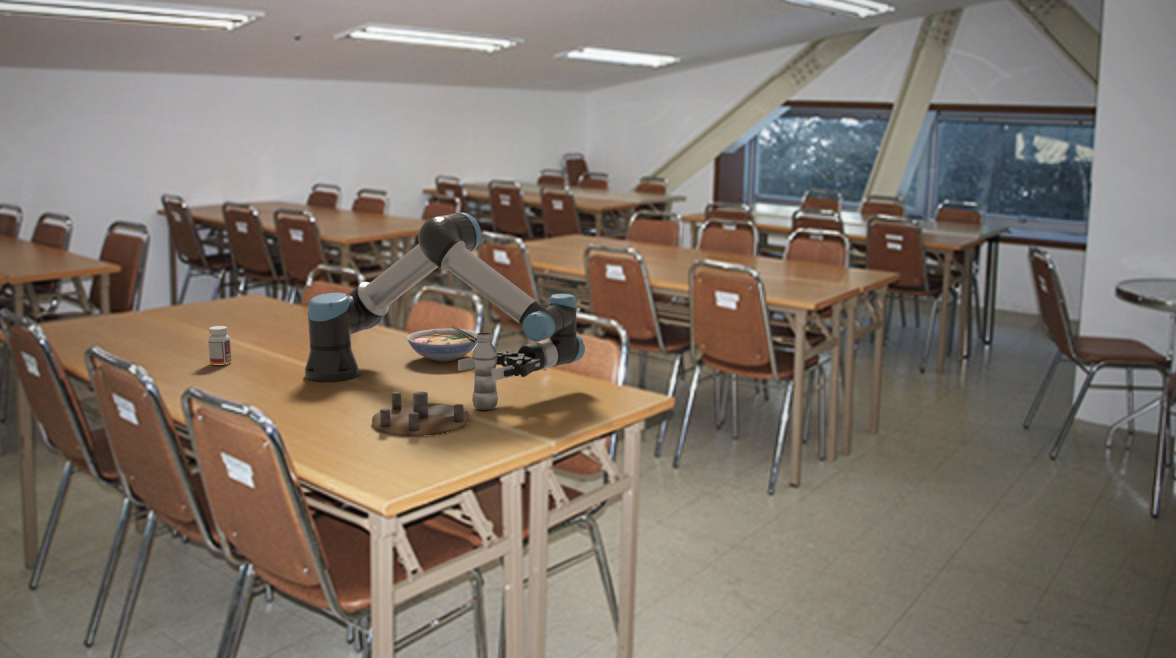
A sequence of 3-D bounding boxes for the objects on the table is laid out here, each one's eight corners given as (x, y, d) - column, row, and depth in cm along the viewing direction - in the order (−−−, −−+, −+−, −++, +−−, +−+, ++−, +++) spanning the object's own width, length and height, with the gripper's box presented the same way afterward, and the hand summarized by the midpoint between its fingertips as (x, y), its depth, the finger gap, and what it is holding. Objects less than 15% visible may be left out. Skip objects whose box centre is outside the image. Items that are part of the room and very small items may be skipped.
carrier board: (362, 436, 244) (361, 407, 242) (382, 407, 267) (381, 380, 266) (463, 436, 244) (462, 407, 242) (474, 407, 267) (473, 381, 266)
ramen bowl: (398, 353, 325) (397, 328, 323) (468, 347, 334) (467, 322, 332) (418, 372, 303) (417, 345, 301) (491, 365, 311) (491, 338, 310)
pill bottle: (227, 360, 316) (224, 324, 313) (234, 364, 311) (232, 327, 309) (207, 363, 312) (204, 327, 309) (214, 367, 307) (211, 330, 305)
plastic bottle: (472, 405, 269) (471, 331, 265) (498, 405, 270) (497, 331, 266) (472, 412, 263) (470, 336, 259) (498, 412, 264) (497, 336, 259)
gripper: (568, 378, 269) (507, 394, 254) (506, 361, 286) (446, 375, 271) (569, 350, 267) (507, 364, 253) (506, 335, 285) (445, 347, 270)
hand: (475, 370), depth 262 cm, fingers open, 13 cm apart
